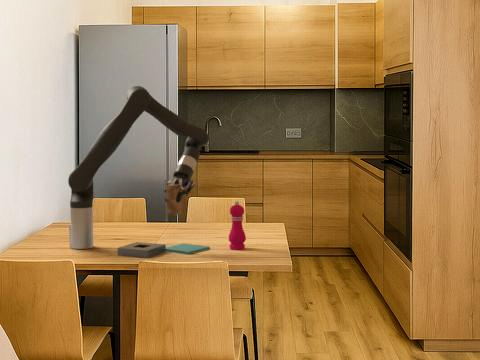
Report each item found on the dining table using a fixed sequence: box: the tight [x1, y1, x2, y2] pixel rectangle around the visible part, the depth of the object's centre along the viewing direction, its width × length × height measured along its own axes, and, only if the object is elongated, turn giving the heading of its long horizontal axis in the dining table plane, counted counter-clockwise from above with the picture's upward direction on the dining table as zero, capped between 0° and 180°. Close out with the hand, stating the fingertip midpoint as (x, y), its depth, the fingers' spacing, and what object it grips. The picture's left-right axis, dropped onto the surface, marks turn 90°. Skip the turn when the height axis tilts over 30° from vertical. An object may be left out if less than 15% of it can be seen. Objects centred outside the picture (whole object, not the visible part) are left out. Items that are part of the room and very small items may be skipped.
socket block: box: [117, 241, 167, 259], centre depth 310 cm, size 14×14×3 cm
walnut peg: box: [165, 184, 183, 216], centre depth 314 cm, size 4×4×12 cm
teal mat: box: [166, 242, 211, 255], centre depth 318 cm, size 14×14×1 cm
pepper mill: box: [228, 200, 247, 251], centre depth 319 cm, size 7×7×20 cm
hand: (171, 201), depth 312 cm, fingers closed on walnut peg, 4 cm apart
